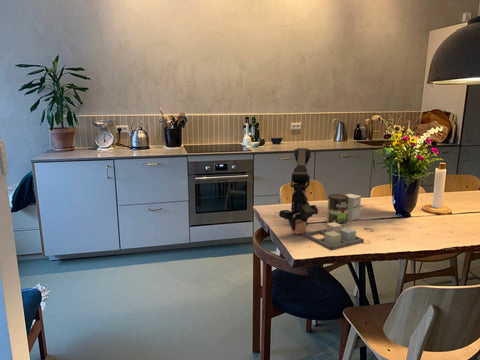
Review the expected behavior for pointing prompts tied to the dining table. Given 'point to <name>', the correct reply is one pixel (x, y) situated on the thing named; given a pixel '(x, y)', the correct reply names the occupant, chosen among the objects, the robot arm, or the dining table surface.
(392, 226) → the dining table surface
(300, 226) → the terracotta block
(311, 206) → the robot arm
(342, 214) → the coffee can
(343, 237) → the charcoal frame
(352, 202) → the supplement box
